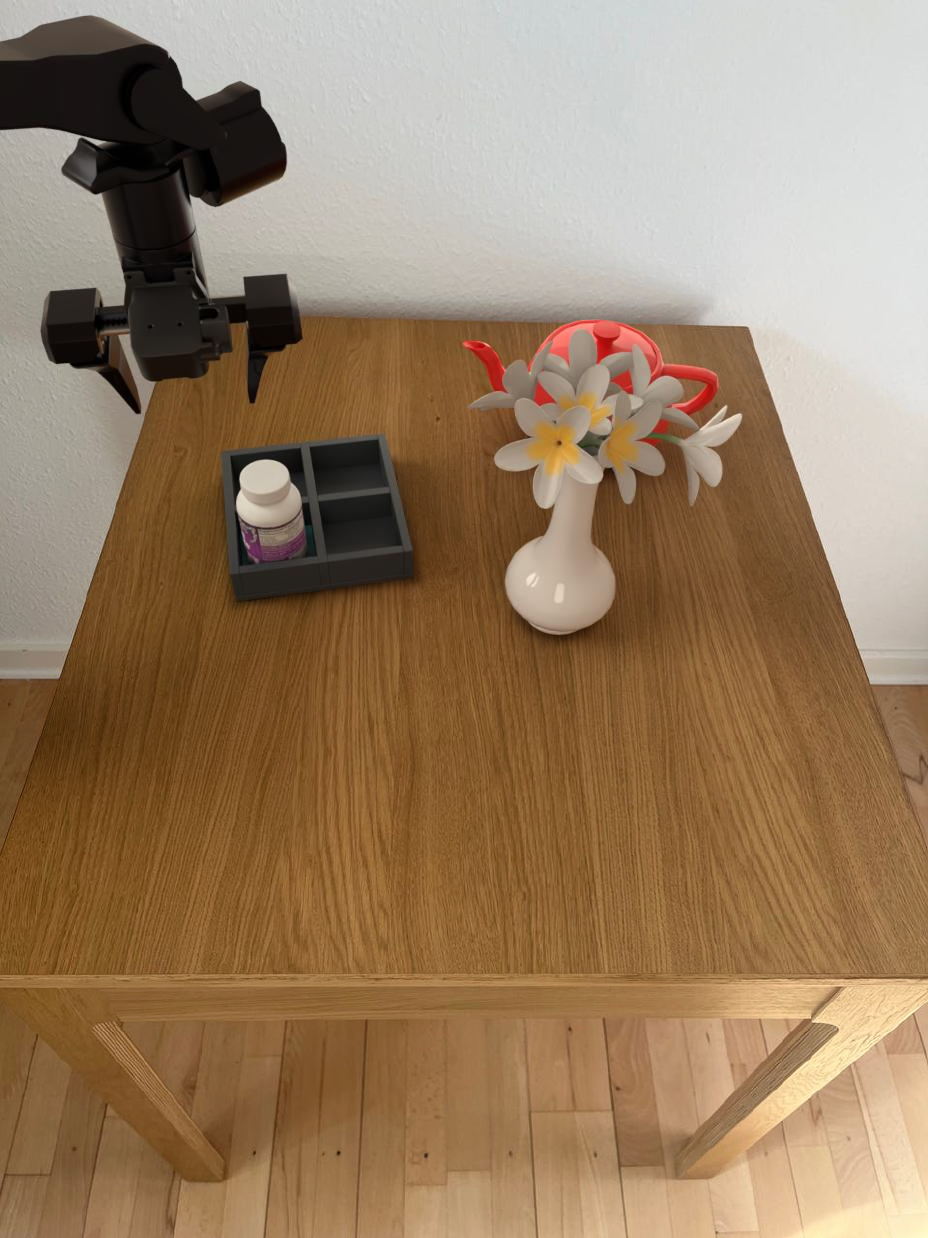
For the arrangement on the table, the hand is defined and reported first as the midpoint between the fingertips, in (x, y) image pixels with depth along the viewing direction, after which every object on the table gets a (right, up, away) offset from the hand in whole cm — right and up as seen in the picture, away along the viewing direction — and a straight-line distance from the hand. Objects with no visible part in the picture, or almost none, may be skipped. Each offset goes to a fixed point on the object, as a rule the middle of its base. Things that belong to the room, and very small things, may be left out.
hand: (196, 405), depth 78 cm
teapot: (+34, +1, +18) cm, 39 cm away
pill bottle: (+6, -12, +5) cm, 15 cm away
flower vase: (+31, -17, +4) cm, 35 cm away
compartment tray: (+9, -9, +8) cm, 15 cm away
